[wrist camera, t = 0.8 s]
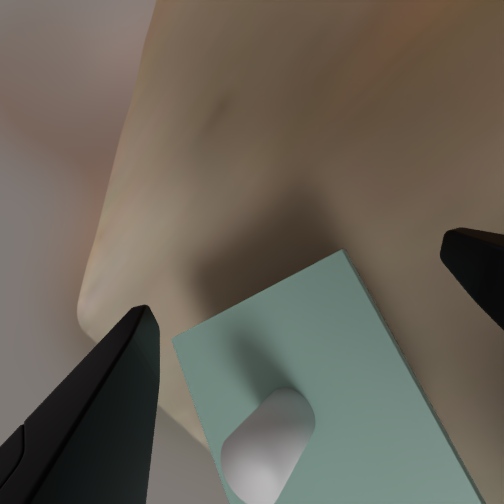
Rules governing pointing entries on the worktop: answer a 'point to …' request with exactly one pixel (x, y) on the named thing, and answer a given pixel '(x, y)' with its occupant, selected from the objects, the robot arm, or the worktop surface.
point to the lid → (317, 399)
